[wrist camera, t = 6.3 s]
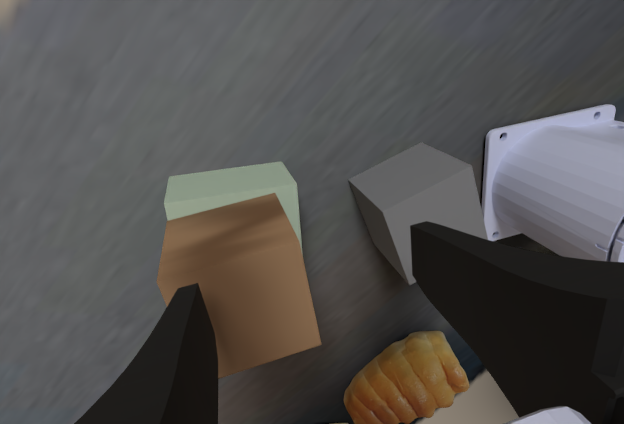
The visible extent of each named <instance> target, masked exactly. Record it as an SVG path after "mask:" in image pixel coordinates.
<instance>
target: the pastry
mask: <svg viewBox="0 0 624 424" xmlns="http://www.w3.org/2000/svg"><path fill="white" fill-rule="evenodd" d="M468 388H469V382H468V379H467V376H466V373H465V371H464V370H463V368H462V367H461V366H460V365H459V361H458V359H457V358H456V357H455V355H454V353H453V351H452V349H451V348H450V346H449V344H448V342H447V341H446V338H445V336H444V333H442V332H440V331H417V332H414V333H410V334H409V335H408V337H406V338H405V339H403V340H401V341H395V342H394V343H393V344H391V345H390V346H389V347H387V348H385V349H384V351H383V352H382V353H381V354H379V355H377V356H376V357H375V358H374V359H373V360H372V361H371V362H369V363H368V364H367V365H366V366H365V367H364V368H362V369H361V370H360V371H359V372H358V373H357V374H356V376H355V377H354V378H353V379H352V381H351V383H350V385H349V386H348V388H347V389H346V390H345V393H344V399H343V400H344V405H345V406H346V409H347V411H348V413H349V414H350V416H351V418H352V420H353V422H354V424H398V423H400V422H403V423H406V424H409V423H411V422H412V421H413V420H414V419H415V418H418V417H426V418H430V417H432V416H433V414H434V411H435V409H436V408H446V407H450V406H451V405H452V404H453V400H454V395H455V394H456V393H460V392H465V391H467V390H468Z"/></svg>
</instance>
